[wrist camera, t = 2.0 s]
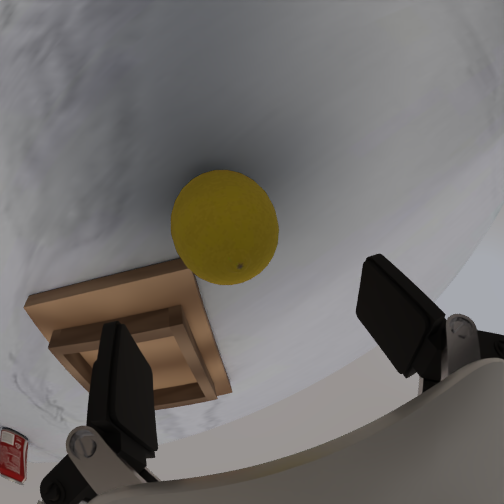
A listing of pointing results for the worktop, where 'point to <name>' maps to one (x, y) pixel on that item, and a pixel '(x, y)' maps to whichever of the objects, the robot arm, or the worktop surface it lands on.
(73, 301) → the board
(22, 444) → the soda can
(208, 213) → the lemon
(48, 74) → the worktop surface
